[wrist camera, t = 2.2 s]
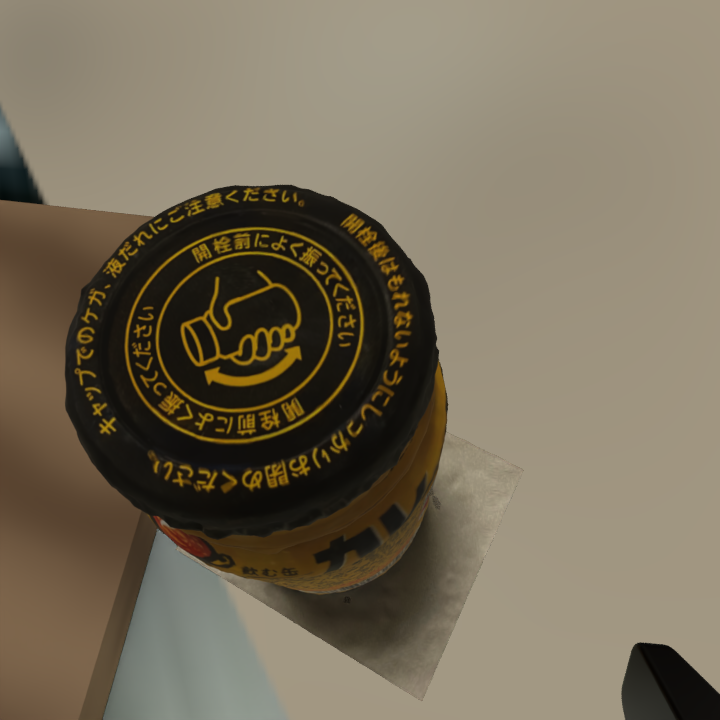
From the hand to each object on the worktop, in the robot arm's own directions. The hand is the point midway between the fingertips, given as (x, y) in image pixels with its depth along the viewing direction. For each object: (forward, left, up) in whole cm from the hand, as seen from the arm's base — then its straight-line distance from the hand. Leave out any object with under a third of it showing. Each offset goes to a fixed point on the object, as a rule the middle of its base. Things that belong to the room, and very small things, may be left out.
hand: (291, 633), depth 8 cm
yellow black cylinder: (+3, 0, -10) cm, 11 cm away
